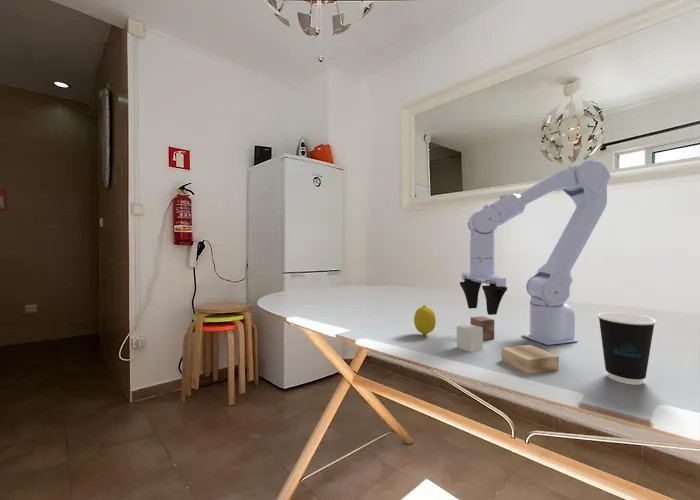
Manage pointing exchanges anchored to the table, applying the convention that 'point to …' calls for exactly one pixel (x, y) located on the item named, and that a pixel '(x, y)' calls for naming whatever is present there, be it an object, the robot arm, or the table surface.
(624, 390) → the table surface
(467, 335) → the grey block
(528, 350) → the oak slab
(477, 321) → the walnut block
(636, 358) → the dixie cup
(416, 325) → the lemon
